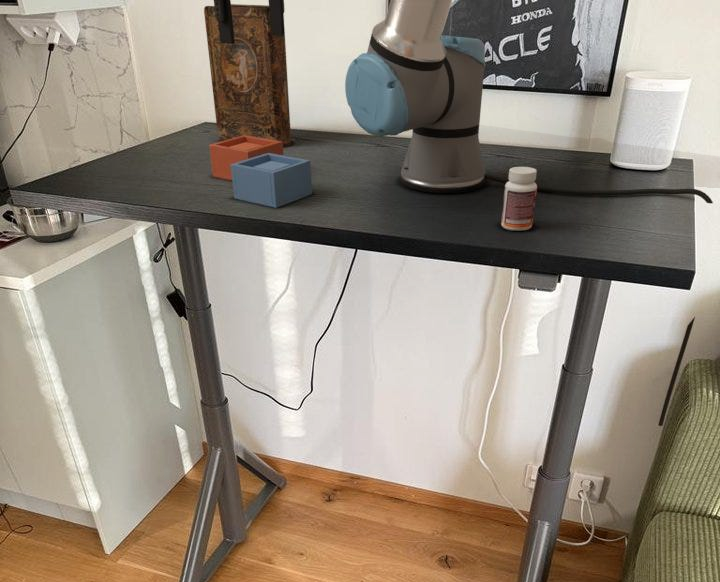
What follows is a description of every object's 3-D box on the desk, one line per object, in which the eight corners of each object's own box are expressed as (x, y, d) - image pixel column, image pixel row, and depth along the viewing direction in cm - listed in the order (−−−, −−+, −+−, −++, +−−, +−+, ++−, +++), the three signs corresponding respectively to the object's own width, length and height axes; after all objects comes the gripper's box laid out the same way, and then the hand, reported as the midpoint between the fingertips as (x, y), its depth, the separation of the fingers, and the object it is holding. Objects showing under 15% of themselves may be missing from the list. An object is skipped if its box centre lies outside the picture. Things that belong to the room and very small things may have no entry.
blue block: (292, 191, 127) (290, 164, 124) (276, 198, 124) (273, 170, 121) (272, 187, 129) (270, 160, 126) (255, 194, 126) (253, 166, 123)
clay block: (265, 170, 138) (263, 145, 135) (249, 176, 135) (246, 150, 132) (248, 167, 140) (245, 142, 137) (231, 172, 137) (228, 146, 134)
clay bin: (284, 173, 139) (282, 141, 135) (250, 184, 133) (247, 151, 129) (247, 165, 143) (244, 134, 140) (212, 176, 137) (209, 144, 134)
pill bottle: (537, 229, 112) (545, 172, 107) (510, 233, 111) (517, 175, 105) (522, 220, 115) (529, 164, 110) (495, 223, 114) (501, 167, 109)
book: (295, 142, 158) (287, 6, 143) (281, 148, 154) (272, 8, 139) (232, 135, 164) (219, 3, 149) (218, 140, 160) (202, 5, 145)
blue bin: (312, 194, 128) (310, 160, 124) (276, 208, 121) (273, 172, 118) (270, 185, 132) (268, 152, 129) (234, 198, 126) (230, 164, 122)
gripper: (272, -110, 128) (282, 31, 141) (167, -115, 112) (188, 45, 124) (306, -112, 124) (312, 33, 137) (202, -117, 108) (220, 48, 121)
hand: (253, 39), depth 131 cm, fingers open, 13 cm apart
